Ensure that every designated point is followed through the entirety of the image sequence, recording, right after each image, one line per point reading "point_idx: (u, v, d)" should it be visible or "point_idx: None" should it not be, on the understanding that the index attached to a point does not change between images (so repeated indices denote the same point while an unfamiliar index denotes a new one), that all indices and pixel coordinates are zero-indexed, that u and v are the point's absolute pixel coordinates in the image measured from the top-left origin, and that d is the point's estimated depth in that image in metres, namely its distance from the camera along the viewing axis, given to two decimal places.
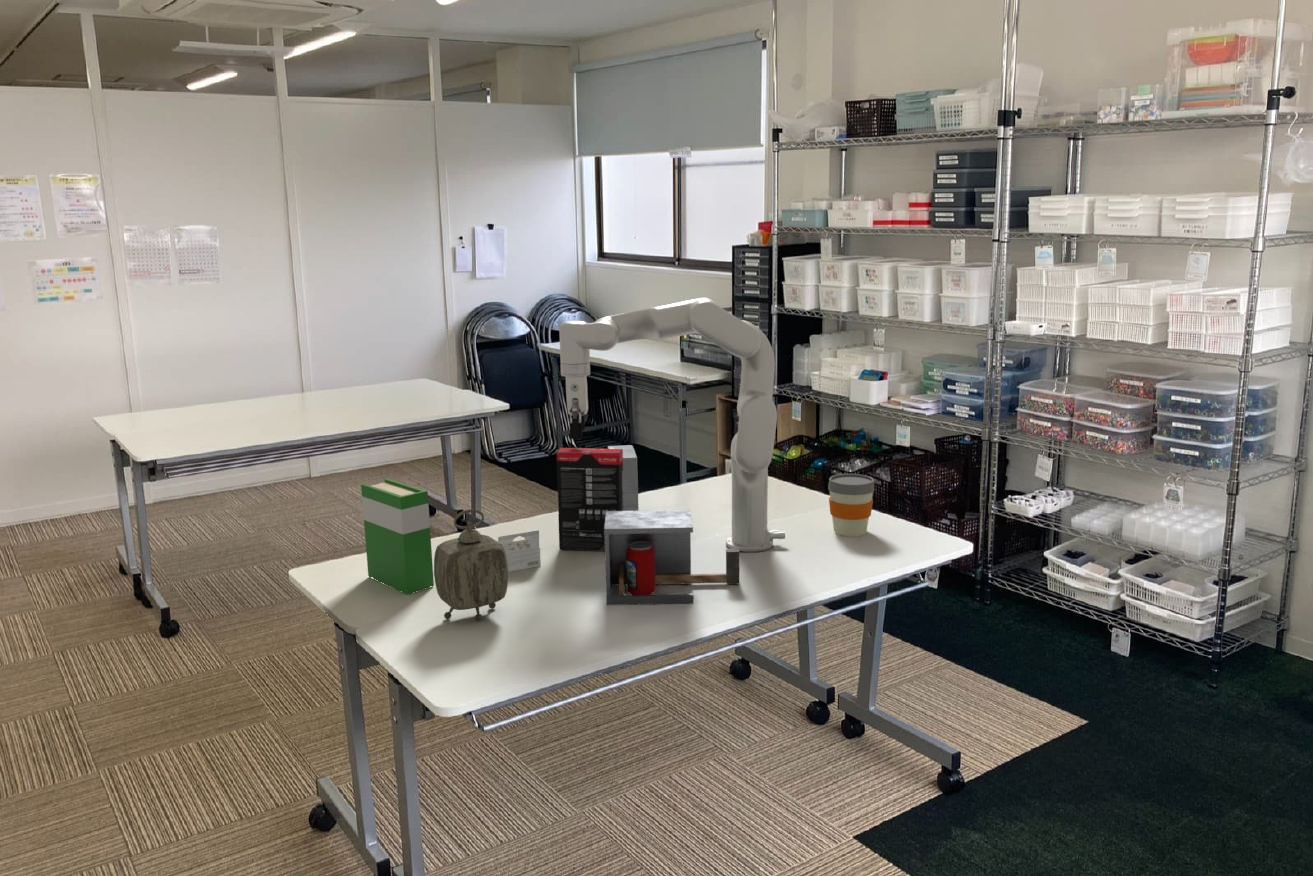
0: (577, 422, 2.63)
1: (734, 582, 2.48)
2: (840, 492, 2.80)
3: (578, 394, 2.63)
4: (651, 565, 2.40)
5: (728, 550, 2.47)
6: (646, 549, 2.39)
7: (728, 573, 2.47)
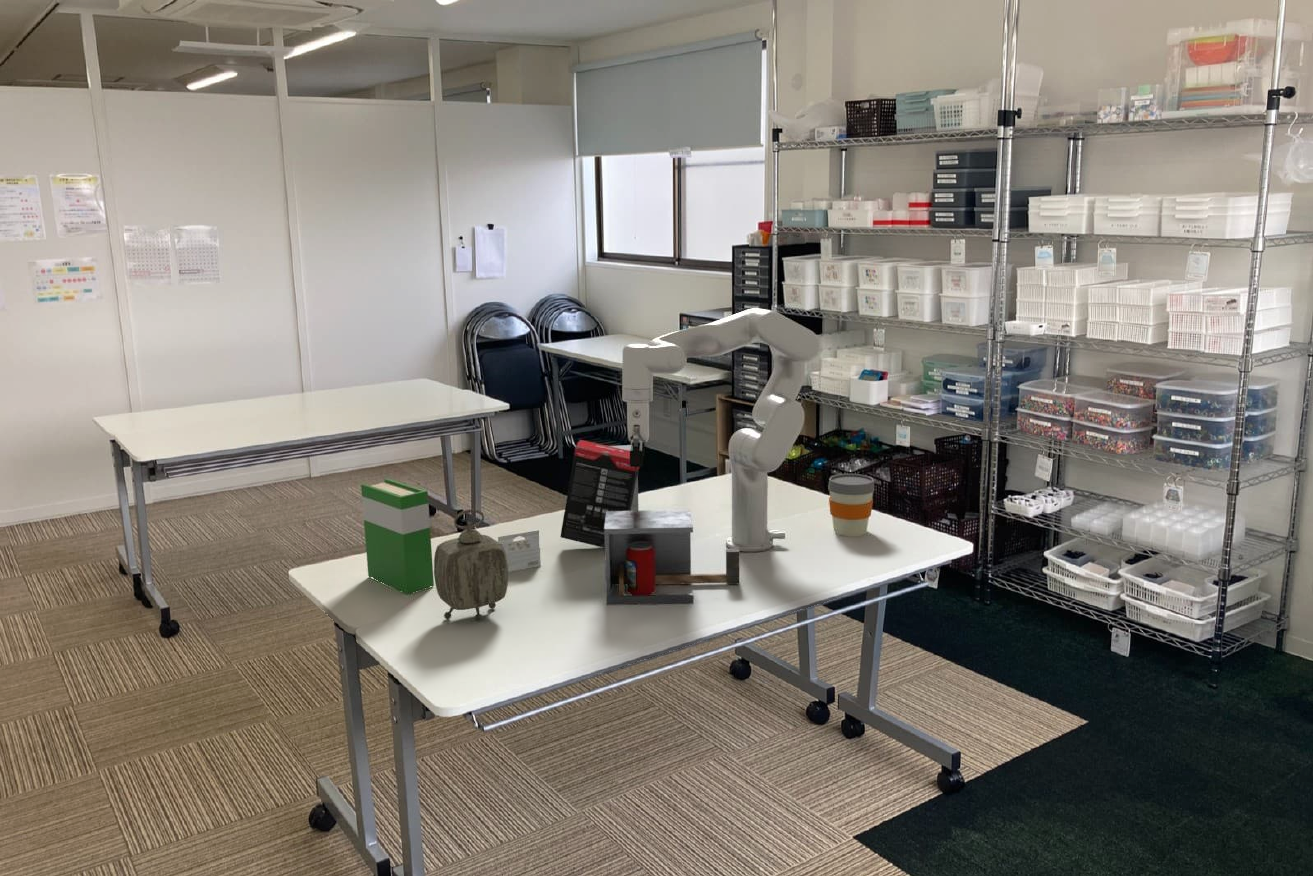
0: (638, 450, 2.52)
1: (734, 582, 2.48)
2: (840, 492, 2.80)
3: (639, 421, 2.52)
4: (651, 565, 2.40)
5: (728, 550, 2.47)
6: (646, 549, 2.39)
7: (728, 573, 2.47)
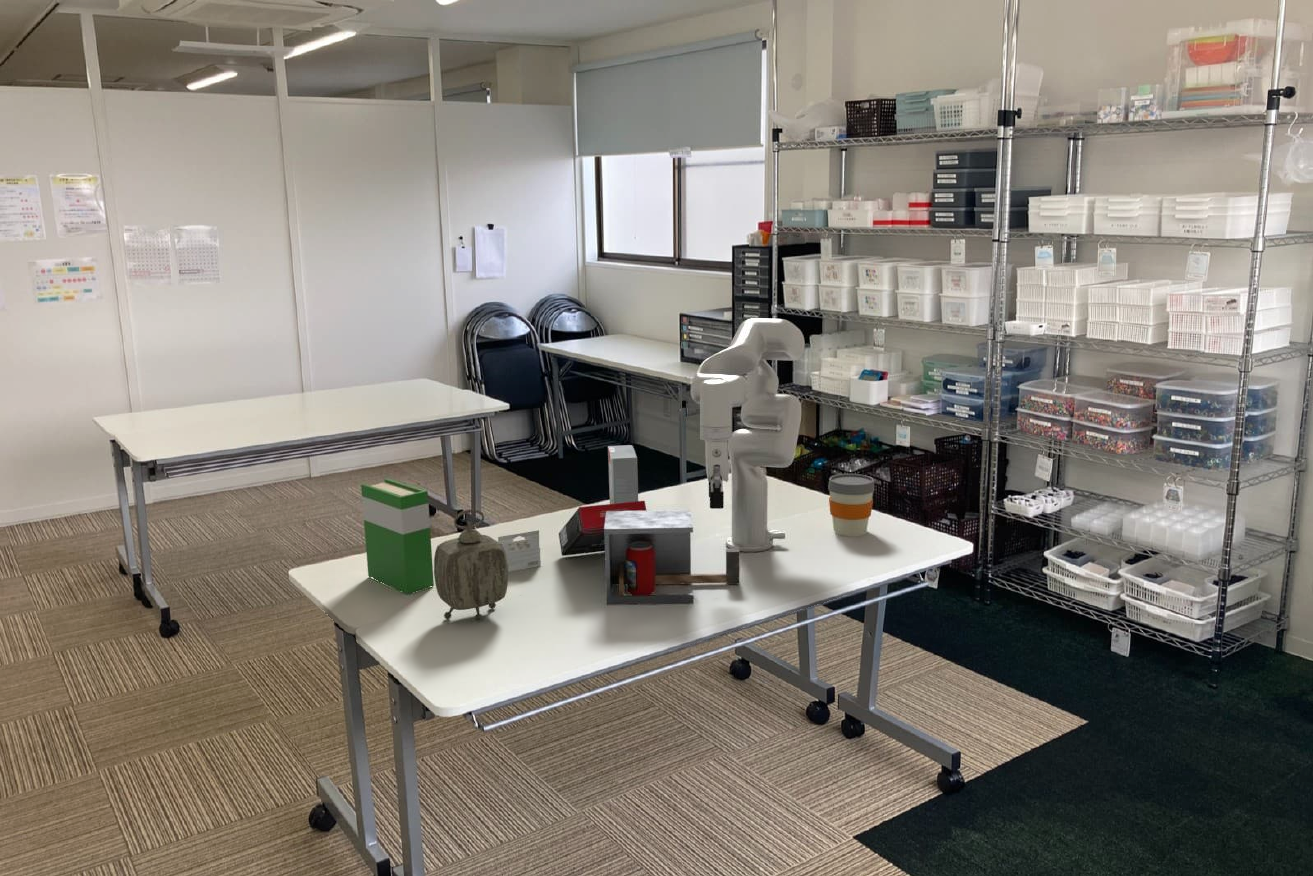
0: (718, 491, 2.40)
1: (734, 582, 2.48)
2: (840, 492, 2.80)
3: (720, 461, 2.40)
4: (651, 565, 2.40)
5: (728, 550, 2.47)
6: (646, 549, 2.39)
7: (728, 573, 2.47)
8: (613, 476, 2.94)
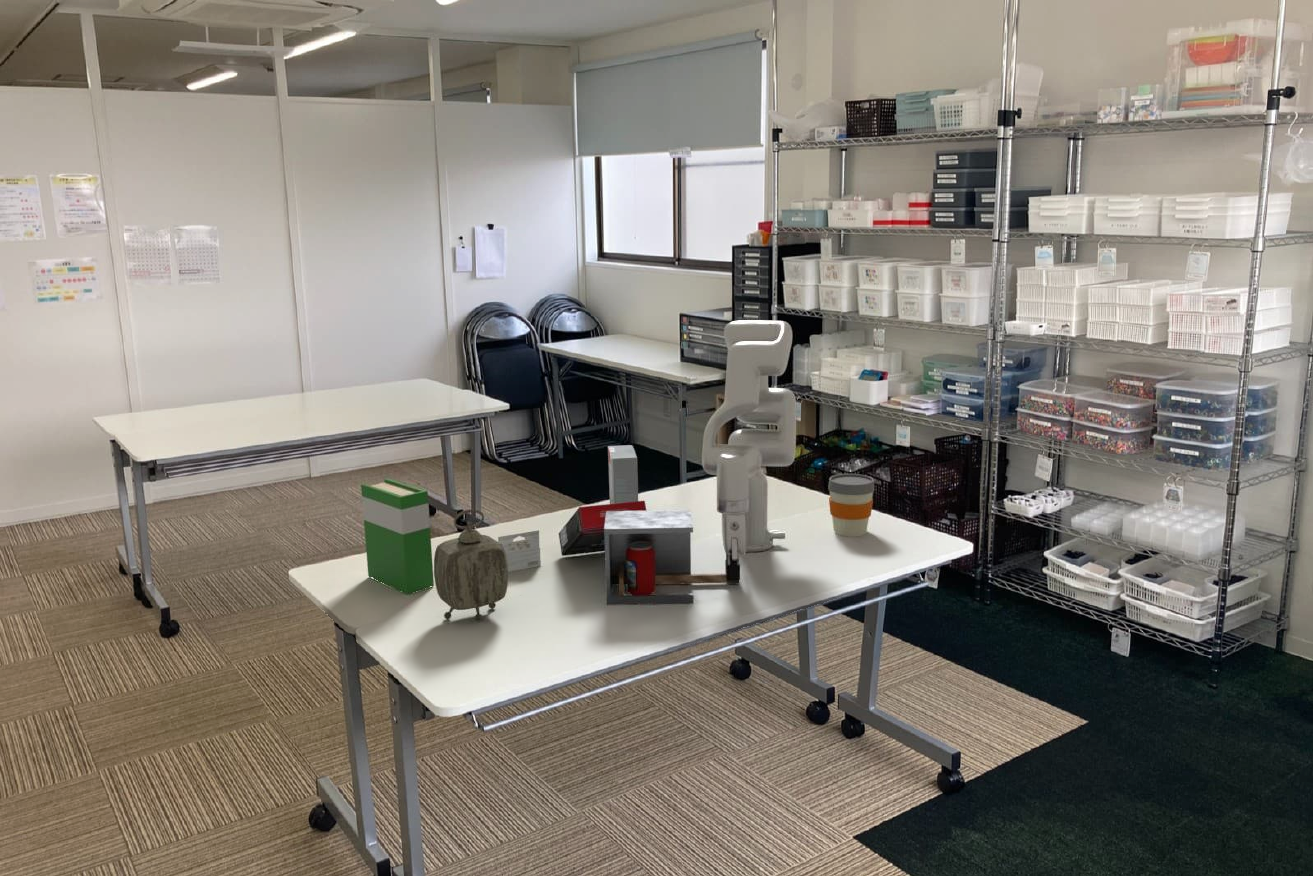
0: None
1: (734, 582, 2.48)
2: (840, 492, 2.80)
3: (738, 534, 2.41)
4: (651, 565, 2.40)
5: None
6: (646, 549, 2.39)
7: None
8: (613, 476, 2.94)
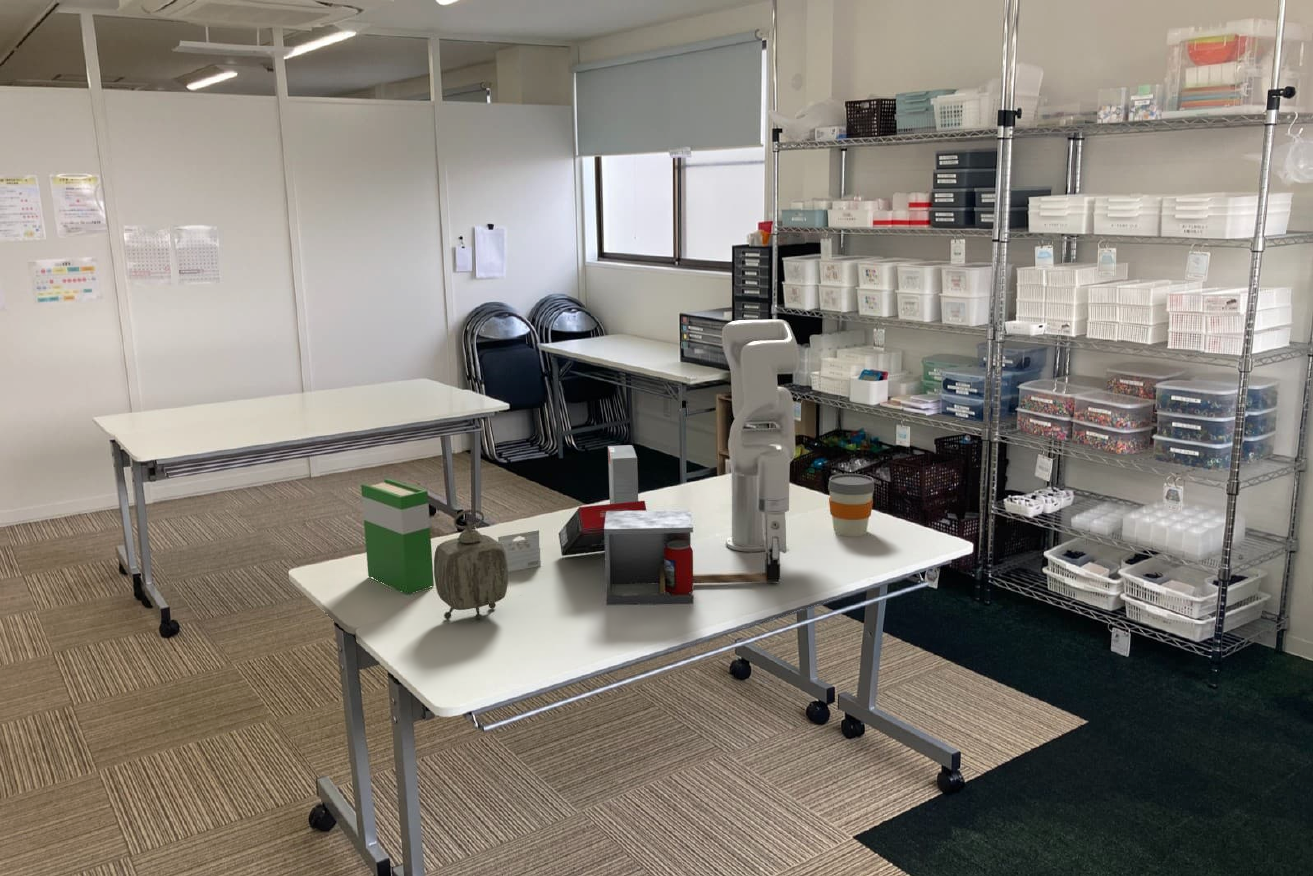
0: None
1: (774, 581, 2.48)
2: (840, 492, 2.80)
3: (778, 533, 2.41)
4: (690, 564, 2.40)
5: None
6: (684, 548, 2.39)
7: None
8: (613, 476, 2.94)
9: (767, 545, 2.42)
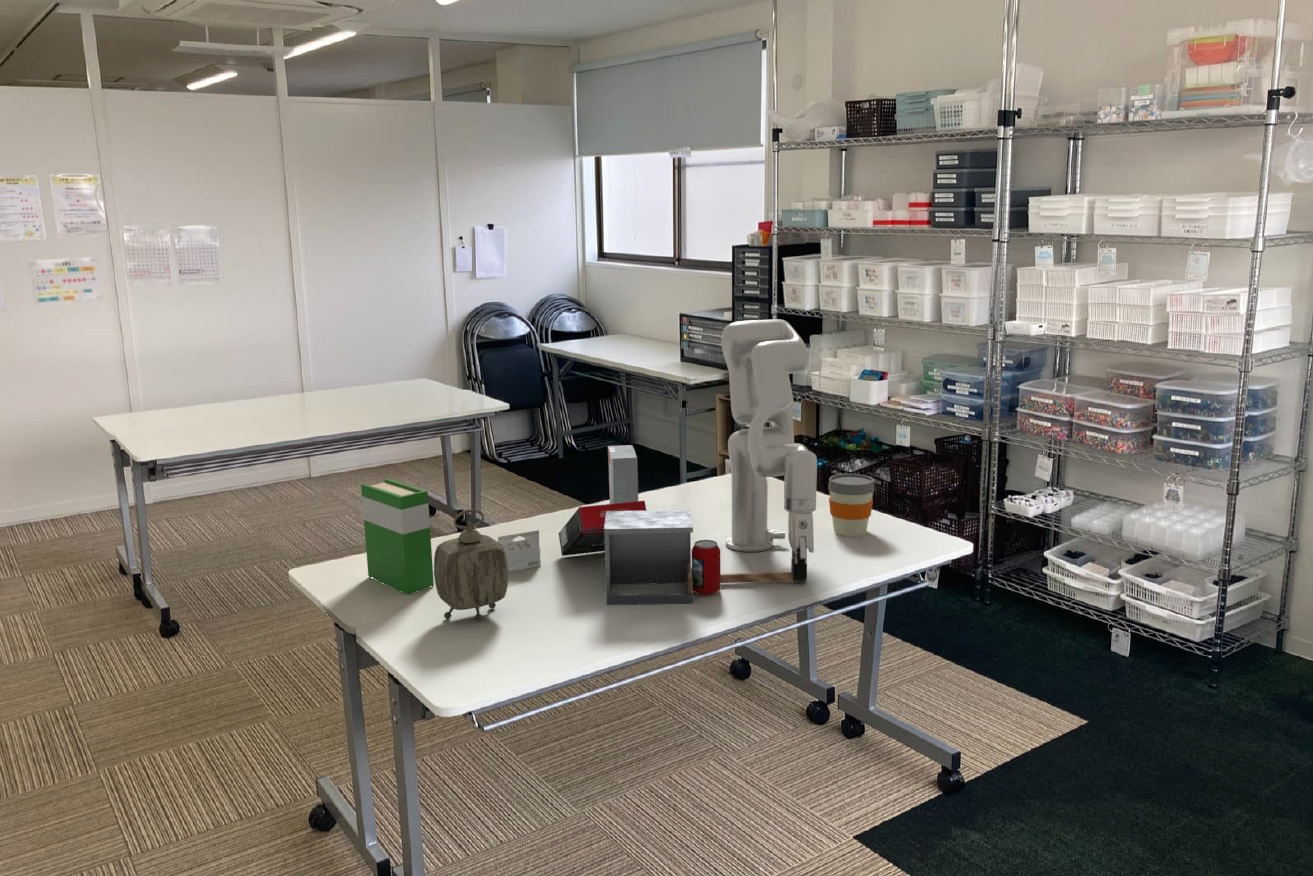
0: None
1: (800, 581, 2.48)
2: (840, 492, 2.80)
3: (806, 532, 2.41)
4: (718, 564, 2.41)
5: None
6: (713, 547, 2.40)
7: None
8: (613, 476, 2.94)
9: (795, 544, 2.42)
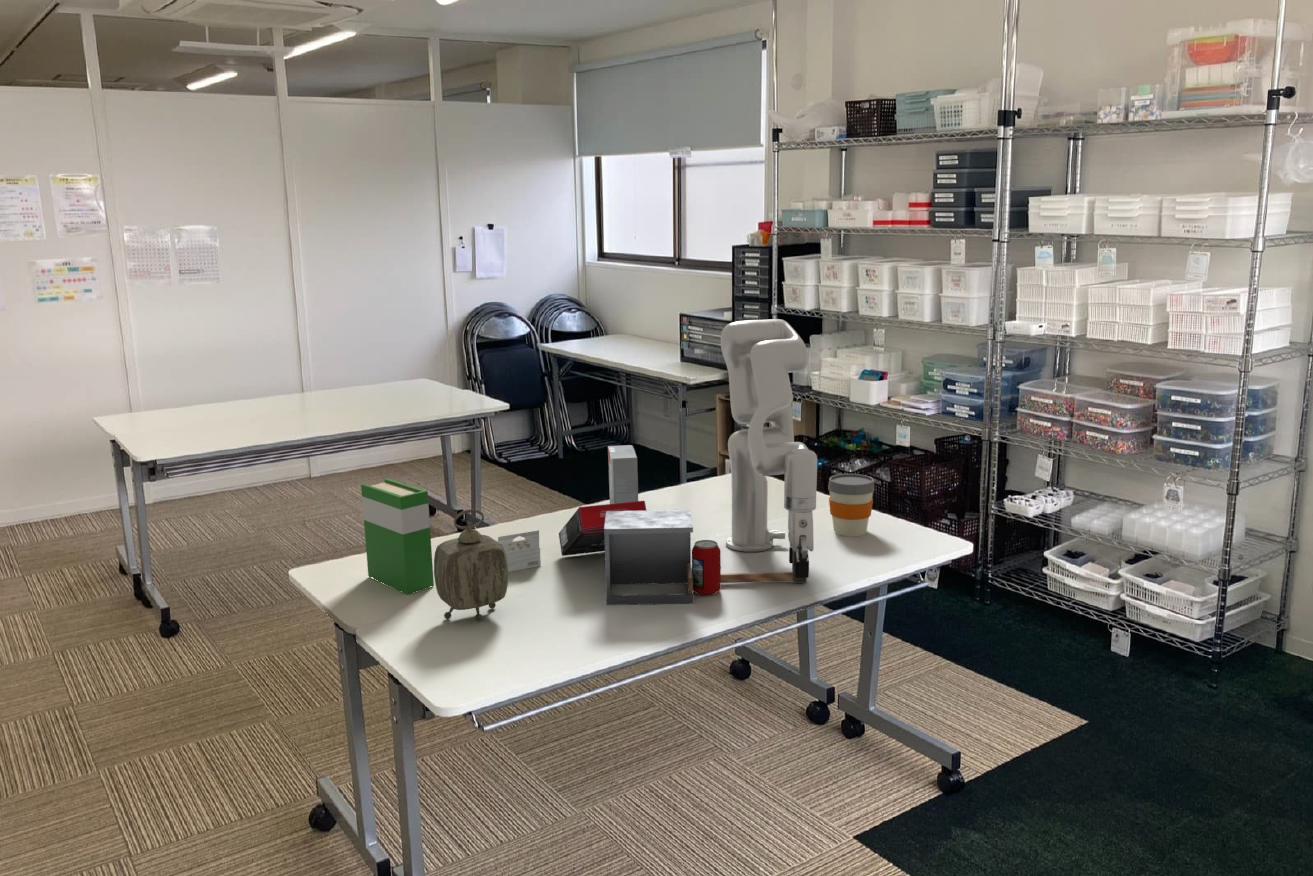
0: (805, 561, 2.42)
1: (800, 581, 2.48)
2: (840, 492, 2.80)
3: (806, 531, 2.41)
4: (718, 564, 2.41)
5: None
6: (713, 547, 2.40)
7: None
8: (613, 476, 2.94)
9: (794, 543, 2.42)
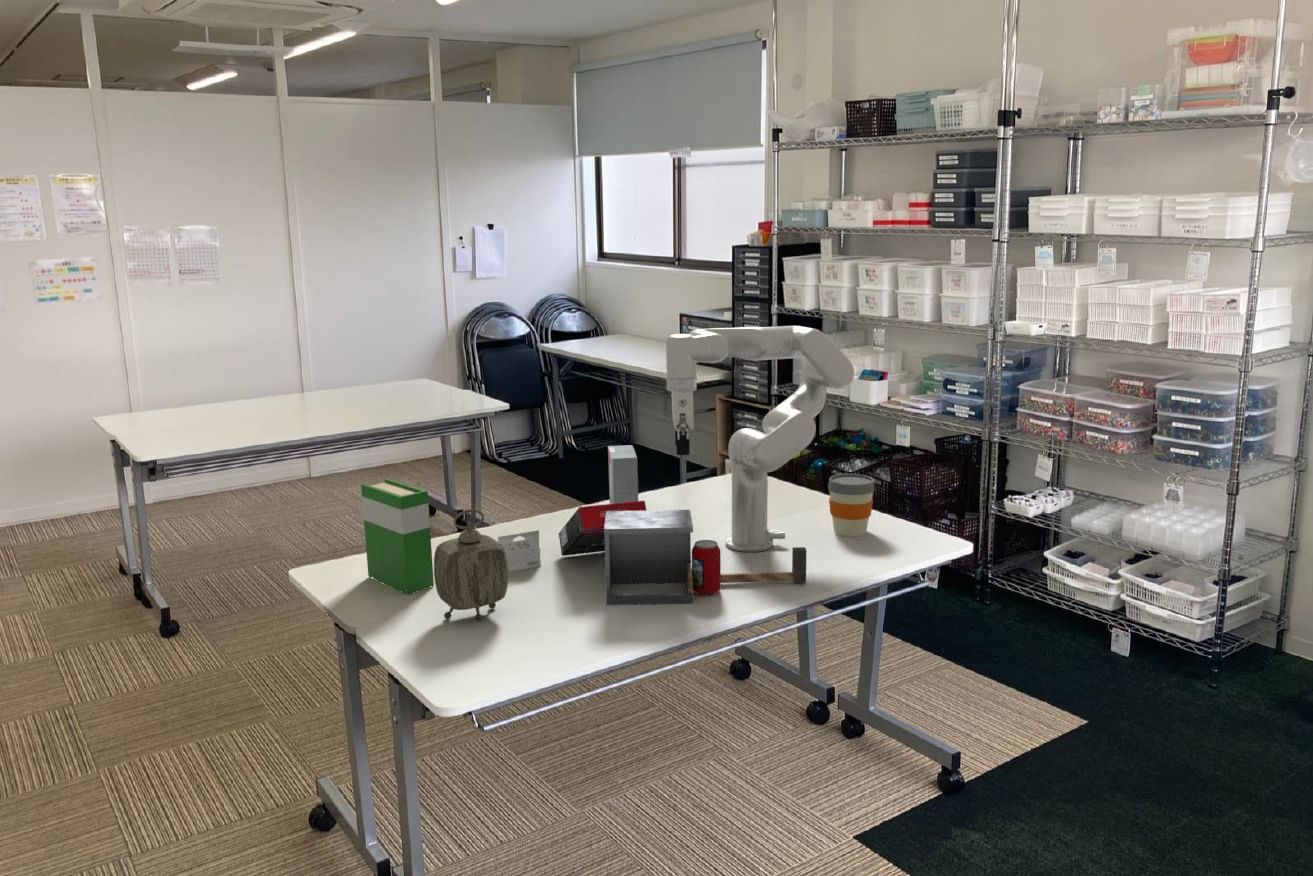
0: (685, 438, 2.56)
1: (800, 581, 2.48)
2: (840, 492, 2.80)
3: (685, 410, 2.56)
4: (718, 564, 2.41)
5: (795, 549, 2.47)
6: (713, 547, 2.40)
7: (795, 572, 2.47)
8: (613, 476, 2.94)
9: (675, 422, 2.57)
